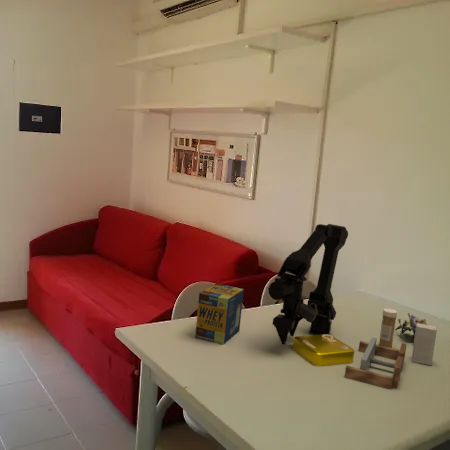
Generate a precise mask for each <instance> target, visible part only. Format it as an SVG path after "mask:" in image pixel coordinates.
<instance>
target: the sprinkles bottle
mask: <svg viewBox="0 0 450 450" xmlns="http://www.w3.org/2000/svg"><path fill="white" fill-rule="evenodd" d="M397 317H398V311H397V310H395V309H393V308H384V309H383V311H382V319H381V327H380V333H379V342H378V345H380V346H384V347H389V348H393V342H394V338H395V337H394V336H395V329H396V328H395V326H396V319H397Z"/></svg>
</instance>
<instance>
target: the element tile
mask: <svg viewBox="0 0 450 450" xmlns="http://www.w3.org/2000/svg"><path fill="white" fill-rule="evenodd" d="M292 350H293V351H294V352H295V353H297V354H298V355H300V356H301V357H302V358H304V359H305V360H306V361H307V362H309V363H310V364H311V365H313V366H316V367H325V366H327V367H328V366H337V365H343V364H344V365H345V364H346V365H347V364H351V363H354V359H355V358H354V356H355V348H353V347H351V346H349V345H348V344H346V343H345V342H343V341H342V340H340V339H339V338H337V337H335V336H334V335H332V334H330V333H329V334H320V335H317V334H310V335H298V336H297V335H296V336H293V343H292Z"/></svg>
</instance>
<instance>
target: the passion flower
mask: <svg viewBox="0 0 450 450" xmlns="http://www.w3.org/2000/svg"><path fill="white" fill-rule="evenodd" d="M407 316H408V319H409V320H406V319H405V320H404V322H403V323H402V324H401V320H402V319H401V318H398V320H397V322H398V324H399V326H397V327H396V328H394V331H398V330H400V329H401V330H400V332H399V336H398V337H400V336H401V335H403V334H405V333H406V332H407V331H409V332H413V334H412V335H413V337H414V338H415V331H416V324H417V323H419V324H425V325H428V324H427V321H426V319H425V318H424V319H423V318H421V319H420V318H419V317H416V316H415V315H414V314H410V312H408V313H407Z"/></svg>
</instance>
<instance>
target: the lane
mask: <svg viewBox="0 0 450 450" xmlns="http://www.w3.org/2000/svg"><path fill="white" fill-rule="evenodd" d="M358 345H359V346H358V352H362V353H365V351H366V349H367V347H368V345H369V342H367V341H362V340H360V341H359V343H358ZM406 349H407V343H402V342H401V343H400V348H399V349H397V348H393V347H392V348H389V347H384V346H380V345H379V344H376V348H375V354H374V356H378V357H383V358H387V359H392V360H395V363H394V364H395V367H394V368H393V373H392V376H390V375H387V374H382V373H378V372H375V371H370V370H363V369H360V367H354V366H350V365H346V367H345V371H344V378H346V379H350V380H354V381H360V382H362V383H367V384H370V385H373V386H378V387H381V388H386V389H389V390H392V388H394V389H398V386H399V383H400V379H401V374H402V371H403V367H404V364H405V358H406V351H407V350H406Z"/></svg>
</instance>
